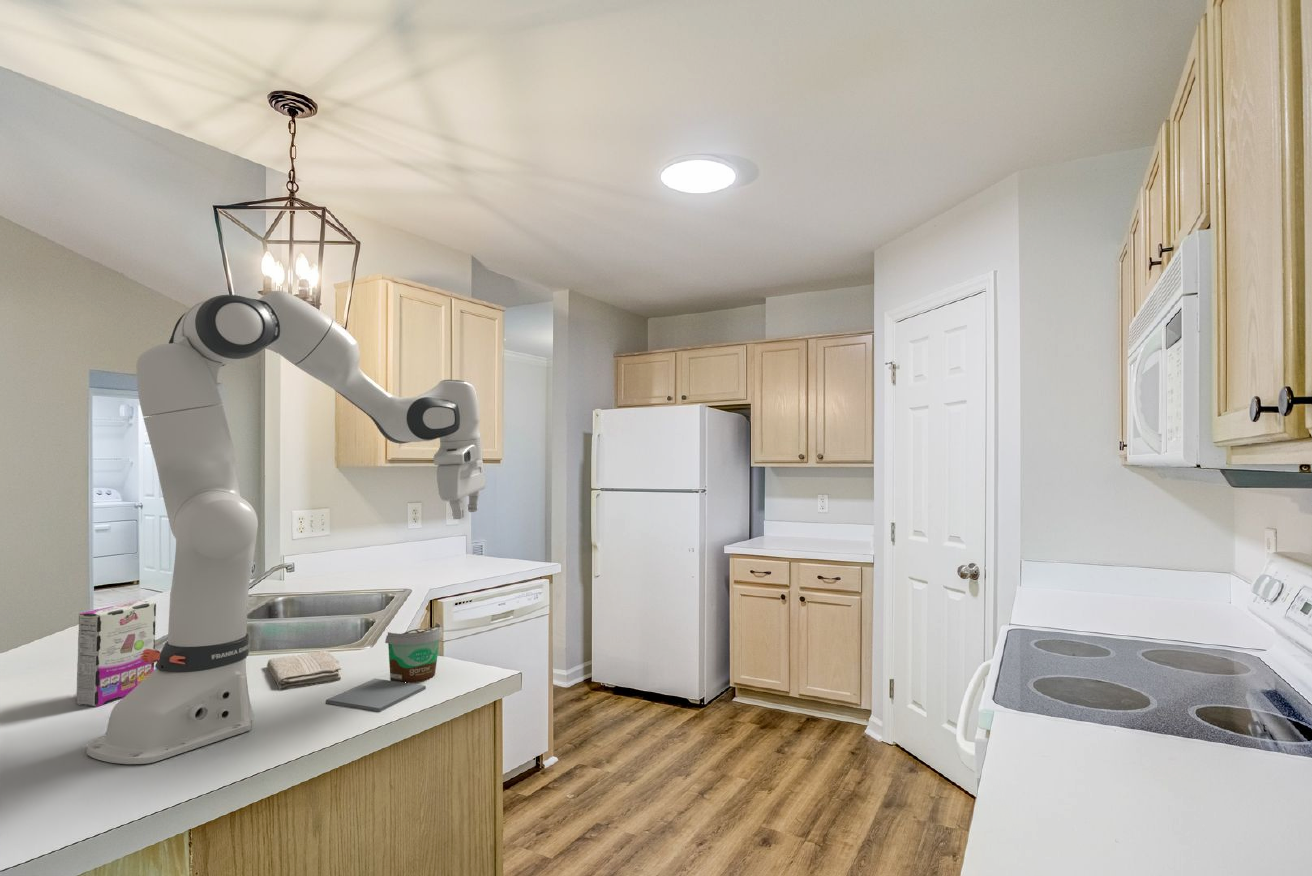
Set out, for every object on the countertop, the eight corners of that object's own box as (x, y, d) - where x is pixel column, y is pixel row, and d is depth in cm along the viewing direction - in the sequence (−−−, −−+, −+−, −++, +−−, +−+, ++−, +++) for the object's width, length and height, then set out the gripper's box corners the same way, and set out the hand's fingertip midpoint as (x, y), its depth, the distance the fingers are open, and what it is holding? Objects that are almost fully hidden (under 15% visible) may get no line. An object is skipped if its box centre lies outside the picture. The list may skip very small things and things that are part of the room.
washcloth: (279, 693, 129) (279, 677, 129) (264, 669, 143) (265, 654, 144) (345, 682, 137) (345, 666, 137) (325, 660, 151) (326, 646, 151)
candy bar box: (133, 685, 131) (137, 600, 131) (154, 687, 130) (158, 601, 130) (72, 705, 120) (77, 612, 120) (95, 708, 119) (100, 614, 119)
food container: (400, 689, 132) (402, 638, 132) (383, 682, 135) (385, 632, 136) (453, 674, 141) (455, 626, 142) (436, 668, 145) (438, 622, 146)
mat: (379, 711, 120) (379, 708, 120) (325, 702, 124) (325, 699, 124) (425, 688, 132) (425, 685, 132) (375, 681, 136) (375, 678, 136)
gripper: (463, 450, 160) (468, 508, 160) (429, 457, 139) (434, 523, 140) (490, 449, 159) (494, 507, 160) (459, 456, 139) (464, 522, 140)
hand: (466, 515), depth 150 cm, fingers open, 8 cm apart
